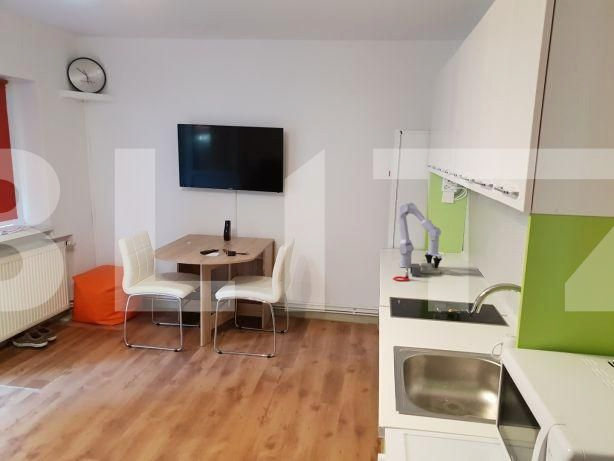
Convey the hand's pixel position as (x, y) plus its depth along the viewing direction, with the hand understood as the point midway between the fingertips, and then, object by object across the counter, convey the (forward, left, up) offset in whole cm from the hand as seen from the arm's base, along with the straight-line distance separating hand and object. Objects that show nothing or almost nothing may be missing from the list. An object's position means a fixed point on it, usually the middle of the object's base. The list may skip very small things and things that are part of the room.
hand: (432, 266), depth 286 cm
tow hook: (+20, -23, -4) cm, 31 cm away
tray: (0, -4, -3) cm, 5 cm away
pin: (+4, -3, -1) cm, 5 cm away
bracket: (+9, -12, -3) cm, 16 cm away
